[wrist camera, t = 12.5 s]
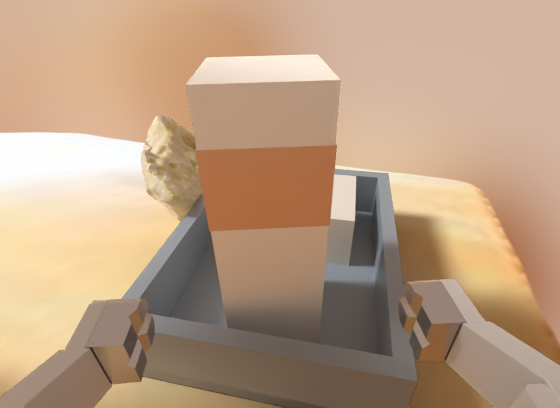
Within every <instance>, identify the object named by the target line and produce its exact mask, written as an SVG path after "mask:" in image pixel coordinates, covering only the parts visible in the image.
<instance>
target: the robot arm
mask: <svg viewBox="0 0 560 408" xmlns="http://www.w3.org/2000/svg"><path fill="white" fill-rule="evenodd" d="M402 291H403V293H404V295H405V296H403V297H402V298H401V299H400V300H399V305H398V313H399V318H400V322H401V325H402V327H403V329H404V330H405V331H406V332H408V333H409V334H410V335H411V337H410V340H409V343H410V345H411V348H412V350H413V352H414V354H415V357H416V359H417V361H418V362H428V361H446V363H447V364H448V365H449V366H450V367H451V368H452V369H453V370H454V371H455V372H456V373H457V374H458V375H459V376H461V377H462V378H463V379H464V380H465V381H466V382H467V383H468V384H469V385H470V386H471V387H472V388H473V389H474V390H476V391H477V392H478V393H479V394H480V395H481V396H482V397H483V398H484V399H485V400H486V401H487V402H488V403H489V404H490V405H492V406H493V407H494V408H560V365H559V364H557V363H555V362H554V361H552V360H551V359H549V358H548V357H546V356H544V355H543V354H541V353H540V352H538V351H536V350H535V349H533V348H532V347H530V346H529V345H527V344H525V343H524V342H522V341H521V340H519V339H518V338H516V337H514V336H513V335H511V334H510V333H508V332H507V331H505V330H503V329H502V328H500V327H499V326H497V325H495V324H494V323H492V322H491V321H485V320H484V318H483V317H482V316H481V314H480V313H479V311H478V310H477V309H476V307H475V306H474V304H473V303H472V301H471V300H470V299H469V297H468V296H467V294H466V293H465V291H464V290H463V289H462V287H461V286H460V284H459V283H458V282H457V281H456V280H455V279H441V280H424V281H411V282H406V283H405V284H404V286H403V289H402ZM148 307H149V305H148V303H147V301H146V299H117V300H97V301H93V302H92V303H91V304H89V306H88V308H87V309H86V311H85V313H84V315H83V317H82V319H81V320H80V322H79V324H78V326H77V328H76V330H75V332H74V333H73V335H72V337H71V339H70V341H69V343H68V345H67V346H66V348H65V350H59V351H58V352H57V353H55V354H54V355H53V356H52V357H50V358H49V359H48V360H47V361H45V362H44V363H43V364H42V365H40V366H39V367H38V368H37V369H35V370H34V371H33V372H32V373H30V374H29V375H28V376H27V377H25V378H24V379H23V380H22V381H20V382H19V383H18V384H17V385H15V386H14V387H13V388H12V389H10V390H9V391H8V392H7V393H5V394H4V395H3V396H2V397H0V408H94V407H95V405H96V404H97V403H98V402H99V401H100V400H101V398H102V397H103V396H104V395H105V394H106V392H107V391H108V390H109V389H110V388H111V387H112V384H122V383H132V382H141V380H142V377H143V373H144V370H145V367H146V363H147V358H146V355H145V352H146V351H147V350H148V349H149V348H150V347H151V346H152V343H153V339H154V332H155V324H154V319H153V316H152V315H151V314H149V313H148V312H147V310H148Z"/></svg>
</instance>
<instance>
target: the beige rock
mask: <svg viewBox="0 0 560 408" xmlns="http://www.w3.org/2000/svg"><path fill="white" fill-rule="evenodd" d="M195 150H196V143H195V138H194V136H193V135H192V134H191V133H190V132H189V131H188V130H187V129H185V128H184V127H182V126H178V125H177V124H176V123H175V122H174V121H173V120H172V119H169V118H167V117H164V116H160V115H158V116H156V117H155V119H154V120H153V122H152V125H151V127H150V129H149V130H148V137H147V139H146V141H145V142H144V149H143V151H142V153H141V163H142V173H143V175H144V179H145V181H146V192H147V193H148V194H149V195H151V196H152V197H153V198H154V199H156V200H158V201H159V202H161V203H162V204H163V205H164V206H166V207H167V208H168V209H169V210H170V212H171V213H172V215H173V216H174V217H176V218H177V219H178V220H179V221H182V220H183V219H184V217H185V216H186V215H187V213H188V212H189V211H190V210H191V208H192V207H193V206H194V204H195V203H196V202H197V201H198V199H199V198H200V197H201V195H202V194H203V193H202V187H201V181H200V175H199V170H198V164H197V158H196V153H195Z"/></svg>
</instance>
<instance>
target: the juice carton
mask: <svg viewBox="0 0 560 408" xmlns="http://www.w3.org/2000/svg"><path fill="white" fill-rule="evenodd" d="M186 91H187V97H188V103H189V108H190V114H191V120H192V126H193V132H194V138H195V143H196V150H195V153H196V158H197V164H198V170H199V175H200V181H201V187H202V193H203V198H204V204H205V210H206V215H207V221H208V227H209V231H211V236H212V242H213V248H214V254H215V260H216V265H217V271H218V277H219V283H220V289H221V294H222V300H223V306H224V312H225V318H226V323H227V328H233V329H239V330H244V331H250V332H256V333H261V334H267V335H272V336H278V337H284V338H289V339H295V340H301V341H306V342H312V343H318V344H319V337H320V325H321V313H322V301H323V288H324V276H325V264H326V252H327V239H328V227H329V226H330V219H331V207H332V195H333V184H334V172H335V160H336V147H337V146H336V143H335V142H336V129H337V117H338V104H339V92H340V79H339V78H338V77H337V76H336V75H335V73H334V72H333V71H332V70H331V69H330V68H329V67H328V66H327V64H326V63H325V62H324V61H323V60H322V59H321V58H320V57H319V56H318V55H283V56H247V57H212V58H206V59H205V60H204V62H203V63H202V64H201V65H200V67H199V68H198V69H197V71H196V72H195V73H194V75H193V76H192V77H191V78H190V80H189V81H188V82H187V83H186Z"/></svg>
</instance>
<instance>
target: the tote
mask: <svg viewBox="0 0 560 408" xmlns="http://www.w3.org/2000/svg"><path fill="white" fill-rule="evenodd" d="M334 174H337V175H350V176H356V201H355V224H354V231H353V239H352V246H351V253H350V261H349V266H345V265H337V264H330V263H326V264H325V276H324V288H323V301H322V313H321V325H320V337H319V344H318V343H312V342H306V341H301V340H295V339H289V338H284V337H278V336H272V335H267V334H261V333H256V332H250V331H244V330H239V329H233V328H227V323H226V318H225V312H224V306H223V300H222V294H221V289H220V283H219V277H218V271H217V265H216V260H215V254H214V248H213V242H212V236H211V231H209V227H208V221H207V215H206V210H205V204H204V198H203V194H202V195H201V197H200V198H199V199H198V201H197V202H196V203H195V204H194V206H193V207H192V208H191V210H190V211H189V212H188V213H187V215H186V216H185V217H184V219H183V220H182V221H181V223H180V224H179V225H178V226H177V228H176V229H175V230H174V232H173V233H172V234H171V235H170V237H169V238H168V239H167V241H166V242H165V243H164V244H163V246H162V247H161V248H160V250H159V251H158V252H157V254H156V255H155V256H154V257H153V259H152V260H151V261H150V263H149V264H148V265H147V266H146V268H145V269H144V270H143V272H142V273H141V274H140V276H139V277H138V278H137V279H136V281H135V282H134V283H133V285H132V286H131V287H130V288H129V290H128V291H127V292H126V294H125V295H124V296H123V297H122V299H146V301H147V303H148V305H149V307H148V310H147V312H148V313H149V314H151V315H152V316H153V319H154V324H155V332H154V339H153V343H152V346H151V347H150V348H149V349H148V350H147V351H146V352H145V355H146V358H147V363H146V367H145V370H144V373H143V376H144V377H148V378H153V379H157V380H162V381H167V382H171V383H176V384H180V385H185V386H190V387H194V388H199V389H203V390H208V391H213V392H217V393H222V394H226V395H231V396H236V397H240V398H245V399H249V400H254V401H259V402H263V403H268V404H273V405H277V406H282V407H286V408H407V407H408V404H409V402H410V400H411V397H412V395H413V392H414V390H415V387H416V385H417V382H418V380H417V373H416V366H415V359H414V352H413V350H412V348H411V345H410V343H409V340H410V337H411V335H410V334H409V333H408V332H406V331H405V330H404V329H403V327H402V325H401V322H400V318H399V313H398V305H399V300H400V299H401V298H402V297H403V296H405V295H404V293H403V291H402V289H403V286H404V281H403V274H402V267H401V260H400V253H399V246H398V239H397V232H396V225H395V218H394V211H393V204H392V197H391V189H390V182H389V175H388V173H377V172H364V171H352V170H339V169H335V172H334Z"/></svg>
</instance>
